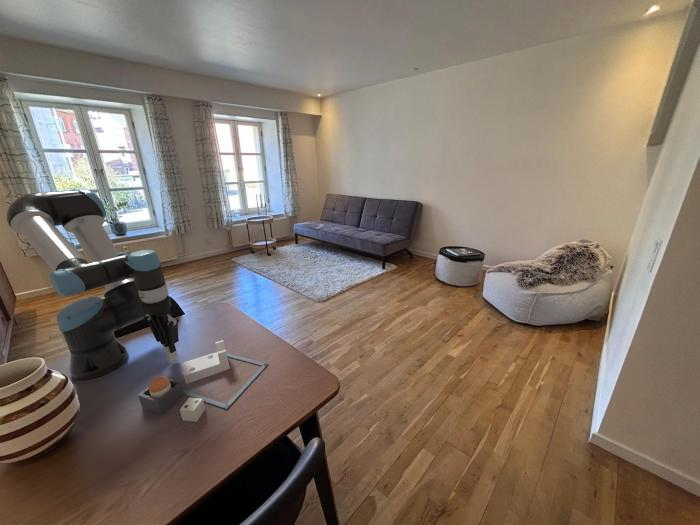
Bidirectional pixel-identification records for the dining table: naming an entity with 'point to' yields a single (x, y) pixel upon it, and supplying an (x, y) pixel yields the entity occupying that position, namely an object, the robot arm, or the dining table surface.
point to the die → (192, 409)
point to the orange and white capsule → (159, 386)
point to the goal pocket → (226, 406)
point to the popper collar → (162, 398)
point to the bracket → (207, 364)
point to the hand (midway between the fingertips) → (172, 358)
